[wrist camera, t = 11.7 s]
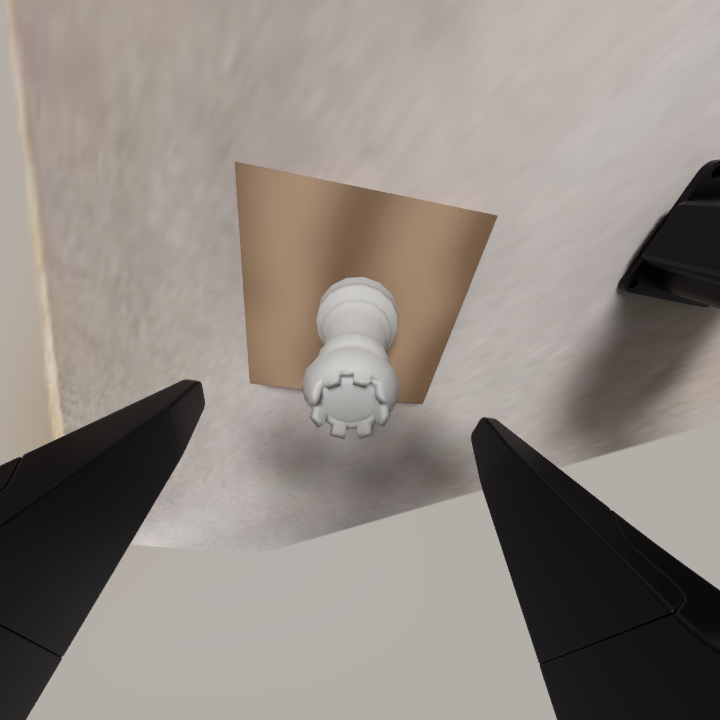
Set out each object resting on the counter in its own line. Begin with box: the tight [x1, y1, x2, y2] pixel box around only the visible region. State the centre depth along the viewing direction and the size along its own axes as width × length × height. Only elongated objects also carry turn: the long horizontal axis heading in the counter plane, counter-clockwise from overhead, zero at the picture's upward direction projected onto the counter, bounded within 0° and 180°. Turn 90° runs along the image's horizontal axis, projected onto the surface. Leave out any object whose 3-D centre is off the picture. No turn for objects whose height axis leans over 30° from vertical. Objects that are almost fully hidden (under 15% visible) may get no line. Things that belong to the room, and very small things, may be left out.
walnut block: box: [235, 162, 497, 404], centre depth 16 cm, size 12×12×2 cm
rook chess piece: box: [302, 277, 399, 439], centre depth 11 cm, size 4×4×8 cm
